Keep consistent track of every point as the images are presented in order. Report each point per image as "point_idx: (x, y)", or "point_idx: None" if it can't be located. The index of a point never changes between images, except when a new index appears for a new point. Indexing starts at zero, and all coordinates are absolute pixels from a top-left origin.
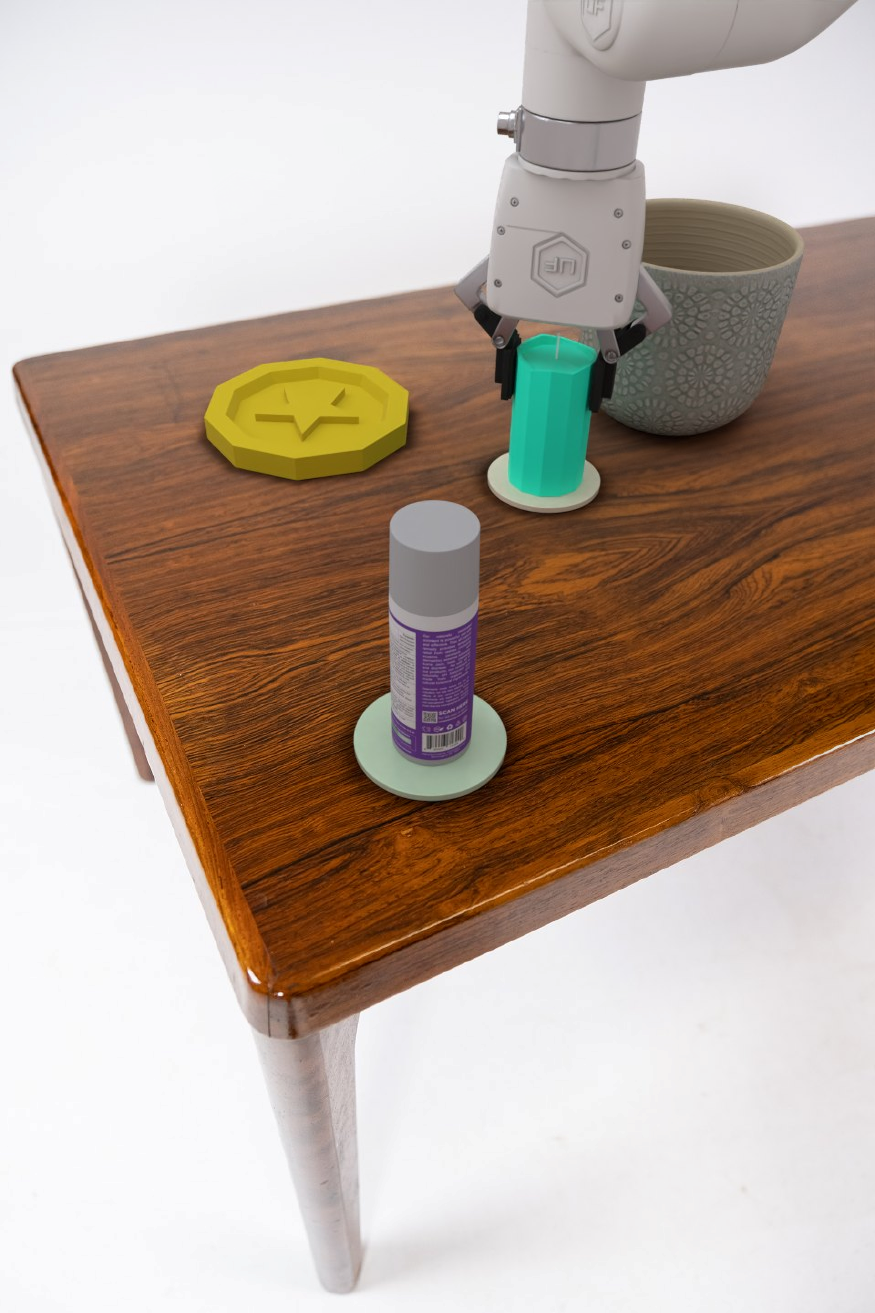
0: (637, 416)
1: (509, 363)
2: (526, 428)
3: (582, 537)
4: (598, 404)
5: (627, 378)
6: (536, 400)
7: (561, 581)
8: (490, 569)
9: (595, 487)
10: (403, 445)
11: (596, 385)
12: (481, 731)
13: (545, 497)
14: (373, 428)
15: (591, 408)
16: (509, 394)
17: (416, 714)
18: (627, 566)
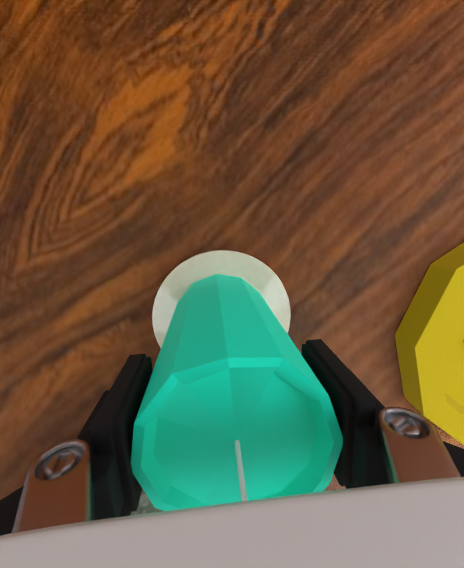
0: None
1: (342, 382)
2: (254, 304)
3: (144, 217)
4: (126, 363)
5: (139, 505)
6: (249, 324)
7: (142, 109)
8: (235, 106)
9: (155, 318)
10: (396, 331)
11: (123, 387)
12: None
13: (208, 274)
14: (451, 321)
15: (144, 358)
16: (307, 346)
17: None
18: (72, 172)
